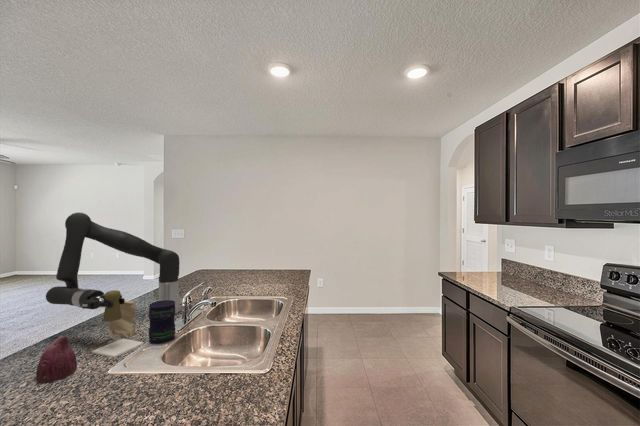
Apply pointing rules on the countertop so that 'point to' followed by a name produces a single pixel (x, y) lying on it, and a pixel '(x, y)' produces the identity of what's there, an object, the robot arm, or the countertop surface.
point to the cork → (114, 311)
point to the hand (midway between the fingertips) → (117, 303)
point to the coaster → (118, 347)
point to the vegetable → (56, 361)
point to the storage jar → (162, 321)
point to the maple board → (124, 321)
